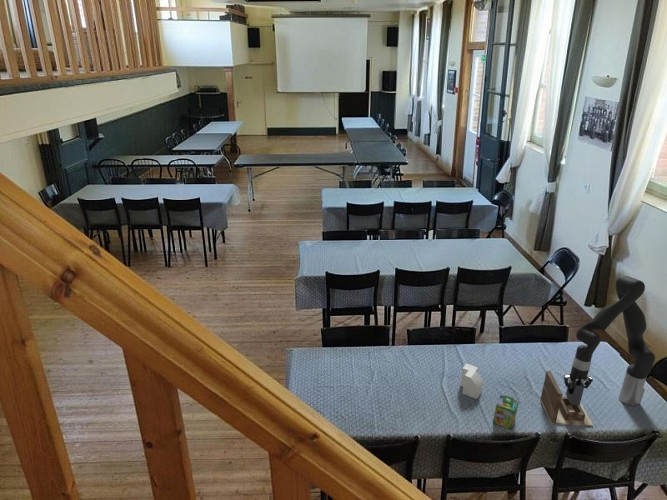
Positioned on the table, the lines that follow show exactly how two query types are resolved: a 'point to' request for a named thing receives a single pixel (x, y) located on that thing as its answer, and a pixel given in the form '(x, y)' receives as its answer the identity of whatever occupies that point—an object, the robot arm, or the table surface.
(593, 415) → the table surface
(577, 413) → the post socket
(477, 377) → the white stepped block
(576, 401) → the dark grey block
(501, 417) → the chalk box
